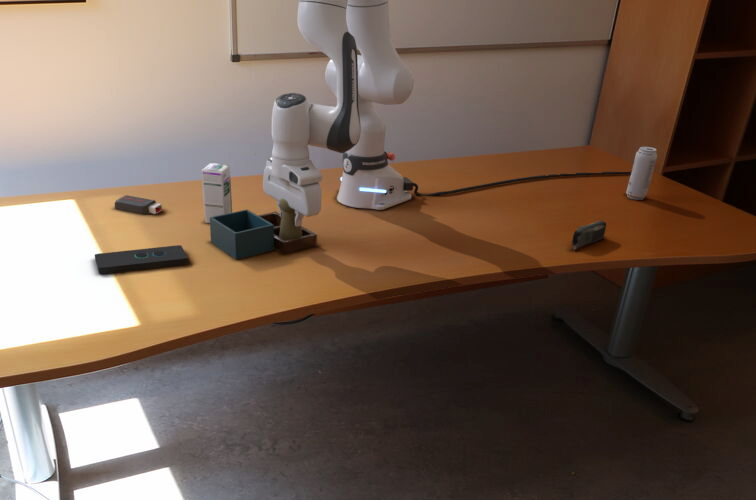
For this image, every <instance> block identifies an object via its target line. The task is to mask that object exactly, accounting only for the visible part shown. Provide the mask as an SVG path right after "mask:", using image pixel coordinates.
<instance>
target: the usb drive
mask: <svg viewBox="0 0 756 500" xmlns="http://www.w3.org/2000/svg"><path fill="white" fill-rule="evenodd" d="M114 209H115V210H119V211H125V212H130V213H134V214H139V215H140V214H141V215H149V214H153V215H156V214H158V213H160V212H162V211H163V204H162V203H159V202H157V201H156V199H149V198H145V197H138V196H133V195H128V194H127V195H126V194H125V195H123V196H122V197H119V198H118V199H116V200H115V202H114Z"/></svg>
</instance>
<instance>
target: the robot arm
mask: <svg viewBox="0 0 756 500" xmlns="http://www.w3.org/2000/svg"><path fill="white" fill-rule="evenodd" d="M389 13H390V12H389V0H298V7H297V15H296V17H297V19H296V20H297V27H298V30H299V33H300V34H301V36H302V37H303V39H304V40H305V41H306V42H307V43H308V44H309V45H310V46H311V47H313V48H314V49H316V50H318V51H320V52H321V53H322V54H324V55H326V56H327V57H328V58H329V59H330V60H329V61H328V63H327V65H326V68H325V73H324V75H325V76H324V78H325V82H326V85H327V87H328V89H329V90H330V91H331V92H332V93H333V95H334V96H335V98H336V106H330V105H324V104H320V103H316V102H315V103H314V102H310V101H309V100H308V99H307V97H306V96H305V95H304V94H302V93H296V92H289V93H283V94H281V95H279V96H278V97H277V96H276V98H275V99H274V101H273V106H272V112H271V139H272V144H273V145H272V151H271V156H269V158H267V160H266V162H265V167H264V169H263V177H262V189H263V192H264V194H265V195H267V196H269V197H271V198H273V199H274V200H276V206H277V208H278V210H279V214H280V217H282V209H281V206H280V201H281V199H285V200H286V201H287V202H288V205H289V207H291V208H292V209H294V210H295V214H296V217H295V218H293V225H295V226H297V227H298V226H303V219H304V217H307V218H309V217H314V216H317V215H319V214H320V213H321V210H322V187H321V184H320V183H321V182H322V181H323V173H322V172H321V171H320V170H319V169H318V168H317V167H316V166H315V164H314V162H313V161H312V160H311V159H310V150H309V146H311V147H317V148H322V149H327V150H330V151H333V152H336V153H339V154H342V175H341V177H340V186H339V190H338V193H337V196H336V200H337V201H338V202H339V203H340V204H342V205H344V206H347V207H351V208H358V209H371V210H377V211H381V210H382V211H383V210H386V209H388V208H391V207H393V206H397V205H399V204H402V203H405V202H407V201H410V200H412V194H411V192H412V191H414V192H413V193H414V194H415V196H419V197H420V196H423V197H424V196H425V197H436V196H442V195H443V196H444V195H451V194H456V193H463V192H466V191H471V190H477V189H483V188H488V187H494V186H499V185H504V184H505V185H506V184H509V183H516V182H524V181H529V180H531V181H532V180H539V179H550V178H560V177H576V176H577V177H578V176H601V175H602V176H603V175H607V176H608V175H631V172H617V171H601V172H602V173H588V172H589V171H586V172H587V173H586V172H585V171H584V172H575V173H576V174H566V173H552V174H543V175H535V176H533V175H532V176H525V177H519V178H513V179H507V180H501V181H494V182H488V183H485V184H479V185H473V186H468V187H462V188H457V189H453V190H447V191H438V192H432V193H427V194H422V193H419V192H418V190H419V185H418V183H415V182H414V181H412V180H411V179H409V178H408V177H406V176H404V177H403V176H402V175H401V174H400V173H399V172H398V171H397V170H396V169H395V168H393V167H392V166H391V165H390V164H389V161H391V162H393V161H394V160H395V159H396V154H395V153H393V152H391V151H389V152H386V151H385V143H386V130H387V127H386V123H385V121H384V120H383V118H382V117H381V116H380V115H379V114H378V113H377V112H376V110H375V108H374V105H373V103H375V104H380V105H384V106H388V105H389V106H390V105H391V106H392V105H393V106H395V105H402V104H404V103H405V102H407V100H409V98H410V96H411V95H412V93H413V88H414V76H413V73H412V70H411V69H410V67H409V66H408V65H406V64H405V63H404V61H403V60H402V59H401V57H400V55H399V54H398V51H397V49H396V47H395V44H394V42H393V39H392V35H391V30H390V16H389ZM358 51H359V53H360V54H358ZM388 160H389V161H388ZM556 174H557V175H556ZM558 174H560V175H558ZM546 175H548V176H546ZM409 191H411V192H409Z"/></svg>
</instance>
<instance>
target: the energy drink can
mask: <svg viewBox="0 0 756 500" xmlns="http://www.w3.org/2000/svg"><path fill="white" fill-rule="evenodd" d="M657 159H658V153H657V148H655V147H651V146H640V147H639V149H638V150H637V151H636V153H635V156H634V160H633V164H632V167H631V171H632V172H631V174H630V176H629V180H628V183H627V188H626V191H625V193H626V195H627V198H628V199H631V200H636V201H642V200H644V199H645V197H644V196H646V195H647V196H648V191H649V188H650V184H651V181H652V177H653V174H654V169H655V165H656V162H657ZM628 194H629V195H628ZM630 195H632V196H630ZM633 196H637V197H633ZM647 196H646V197H647Z"/></svg>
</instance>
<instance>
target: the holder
mask: <svg viewBox="0 0 756 500" xmlns="http://www.w3.org/2000/svg"><path fill="white" fill-rule="evenodd" d="M258 216H259V217H261V218H263V219H265V220H266V221H268V222H270V223H271V224H273V225H276V226H274V250H277V251H278V252H280V253H282V254H283V255H285V254H286V255H287V254H290V253H294V252H299V251H300V250H301V251H302V250H305V249H309V248H313V247H317V246H318V242H317V241H318V235H317V233H315V232H313V231H311V230H309V229H307V228H306V227H304V226H303V225H301V229H302V237H298V238H294V239H289V240H283V239H282V238H280V237H279V233H280V225H281V217H280V212H278V211H272V212H268V213H267V212H266V213H264V214H263V213H262V214H259V215H258Z"/></svg>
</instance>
